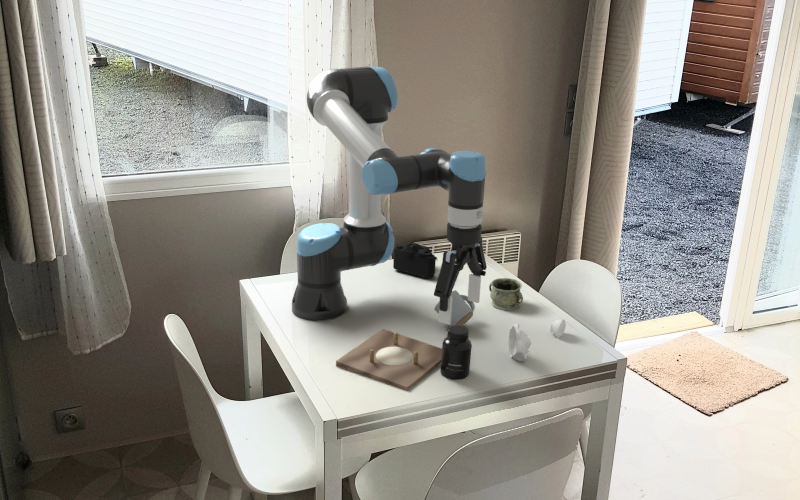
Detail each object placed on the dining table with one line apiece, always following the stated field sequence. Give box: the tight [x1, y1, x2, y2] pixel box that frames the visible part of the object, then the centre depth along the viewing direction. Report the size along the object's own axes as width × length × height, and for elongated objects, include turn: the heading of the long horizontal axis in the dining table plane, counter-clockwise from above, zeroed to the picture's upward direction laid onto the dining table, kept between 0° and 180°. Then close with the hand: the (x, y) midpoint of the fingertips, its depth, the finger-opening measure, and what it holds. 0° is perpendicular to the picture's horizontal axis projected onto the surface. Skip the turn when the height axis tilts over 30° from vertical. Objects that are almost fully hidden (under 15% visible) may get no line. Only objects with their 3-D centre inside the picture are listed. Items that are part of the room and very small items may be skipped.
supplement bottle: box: [440, 325, 473, 381], centre depth 181 cm, size 7×7×12 cm
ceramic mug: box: [434, 289, 476, 327], centre depth 204 cm, size 11×8×8 cm
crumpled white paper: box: [508, 322, 532, 362], centre depth 188 cm, size 10×4×10 cm, turn 5°
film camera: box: [392, 242, 438, 279], centre depth 239 cm, size 15×10×9 cm, turn 57°
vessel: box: [488, 277, 524, 311], centre depth 218 cm, size 12×9×6 cm
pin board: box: [335, 328, 442, 391], centre depth 187 cm, size 20×20×4 cm
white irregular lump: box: [549, 318, 567, 339], centre depth 202 cm, size 5×3×5 cm, turn 149°
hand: (459, 311), depth 176 cm, fingers open, 13 cm apart
